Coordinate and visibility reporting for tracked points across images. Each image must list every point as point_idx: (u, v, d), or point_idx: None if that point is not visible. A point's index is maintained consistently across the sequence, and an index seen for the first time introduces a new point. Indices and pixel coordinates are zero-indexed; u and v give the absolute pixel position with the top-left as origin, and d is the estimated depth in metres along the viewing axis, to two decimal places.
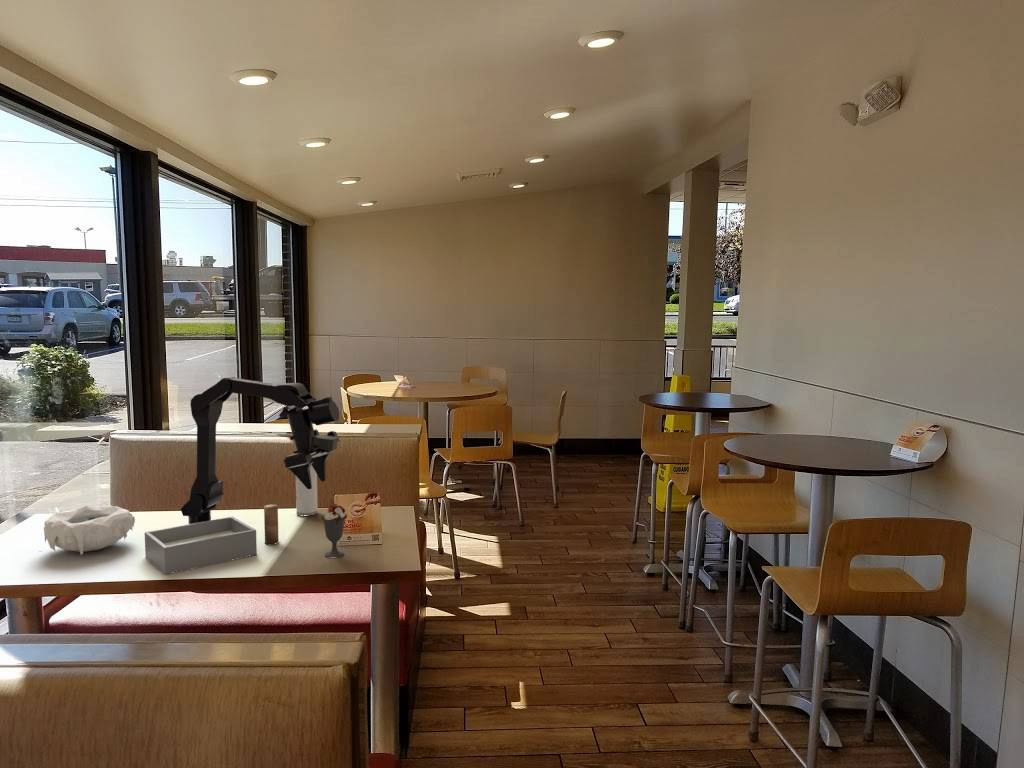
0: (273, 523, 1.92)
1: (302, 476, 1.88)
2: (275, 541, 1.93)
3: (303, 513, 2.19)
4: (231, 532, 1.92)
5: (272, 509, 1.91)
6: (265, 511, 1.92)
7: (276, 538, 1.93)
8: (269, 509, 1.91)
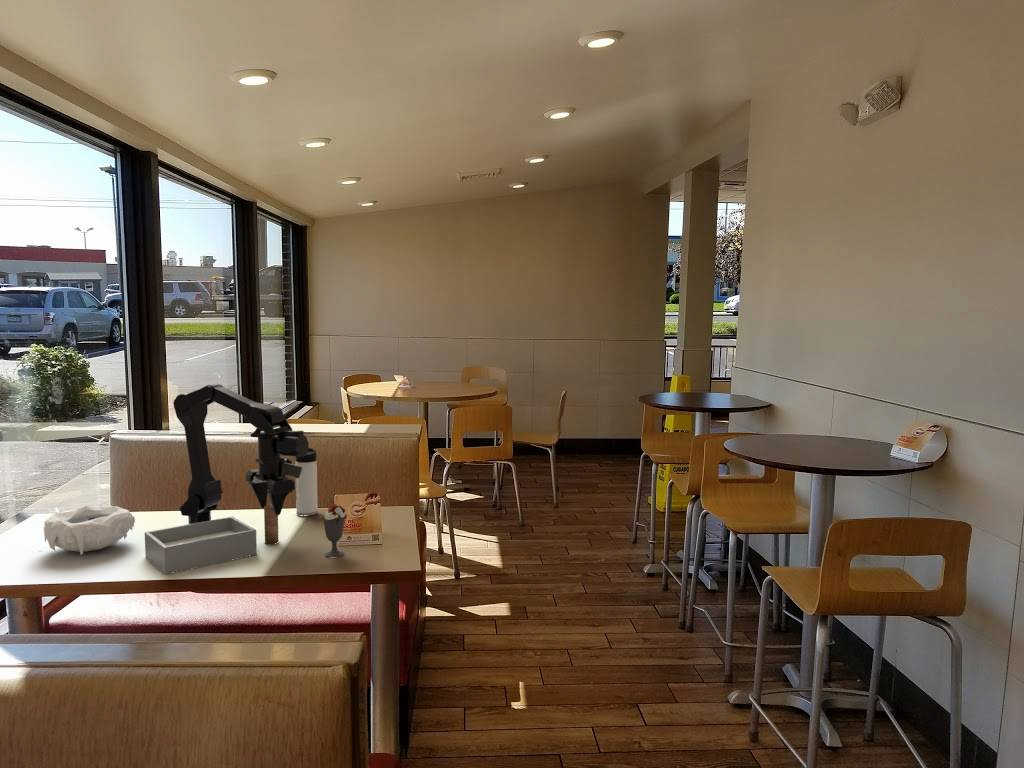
0: (273, 523, 1.92)
1: (277, 502, 1.88)
2: (275, 541, 1.93)
3: (303, 513, 2.19)
4: (231, 532, 1.92)
5: (272, 509, 1.91)
6: (265, 511, 1.92)
7: (276, 538, 1.93)
8: (269, 509, 1.91)
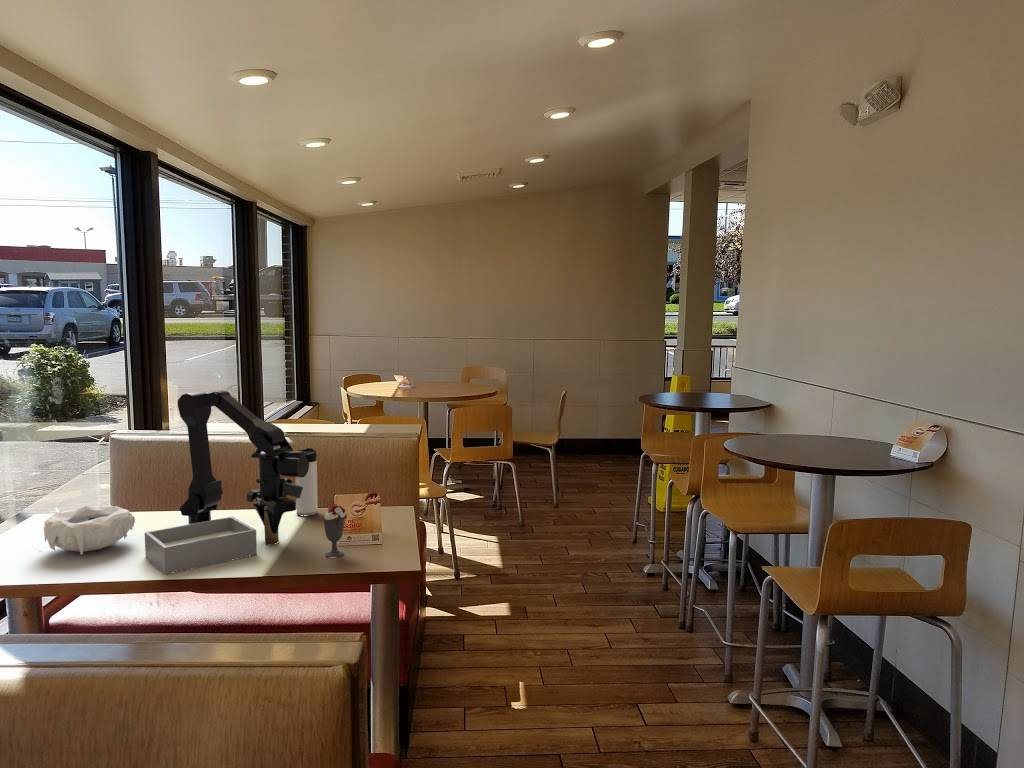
0: None
1: (274, 520, 1.90)
2: (275, 541, 1.93)
3: (303, 513, 2.19)
4: (231, 532, 1.92)
5: None
6: None
7: (276, 538, 1.93)
8: None
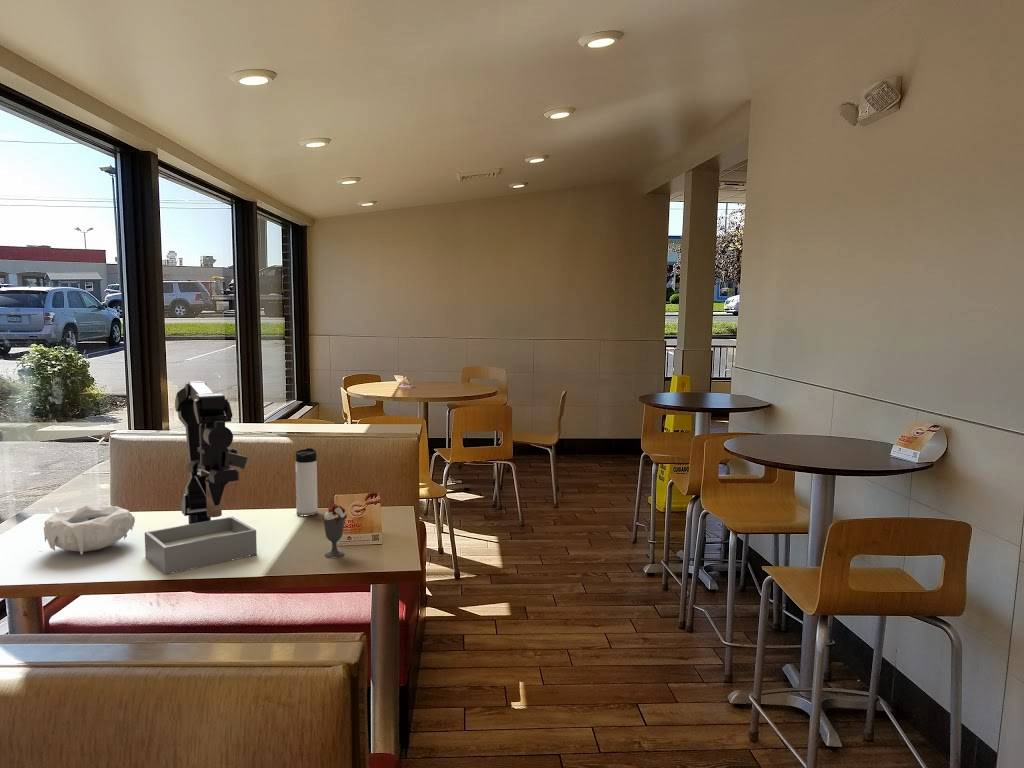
0: None
1: (216, 491, 1.80)
2: (218, 514, 1.83)
3: (303, 513, 2.19)
4: (231, 532, 1.92)
5: None
6: None
7: (219, 510, 1.83)
8: None
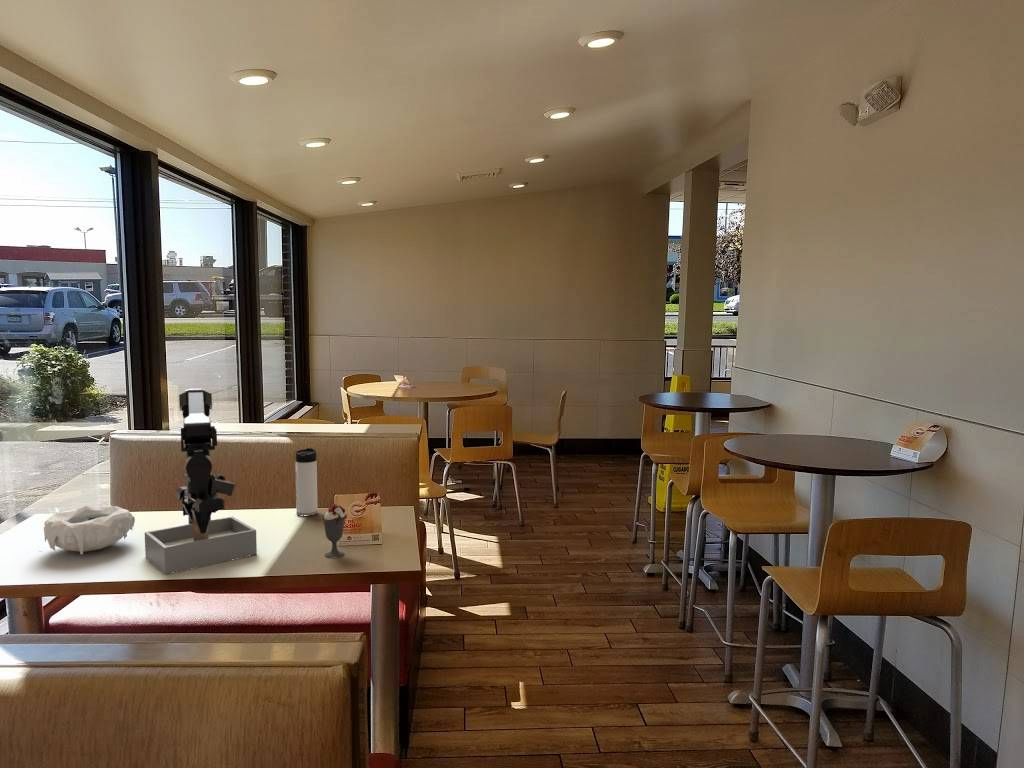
0: None
1: (202, 519, 1.79)
2: None
3: (303, 513, 2.19)
4: (231, 532, 1.92)
5: None
6: None
7: (205, 538, 1.81)
8: None
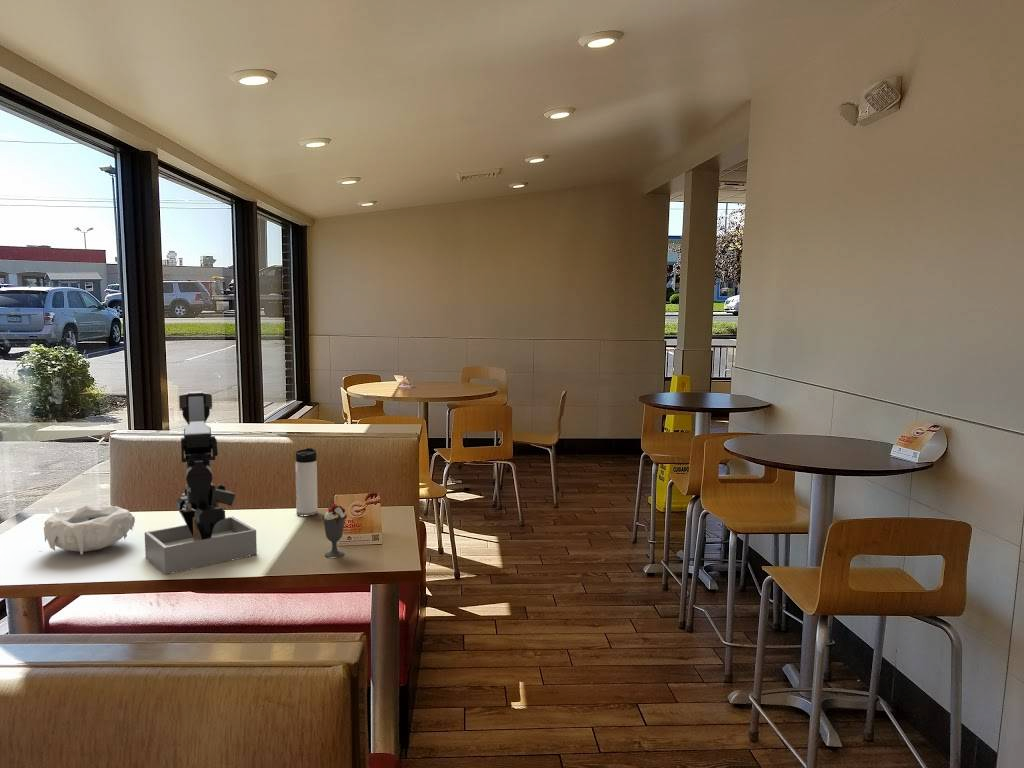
0: None
1: (205, 531, 1.78)
2: None
3: (303, 513, 2.19)
4: (231, 532, 1.92)
5: None
6: (194, 523, 1.80)
7: None
8: None
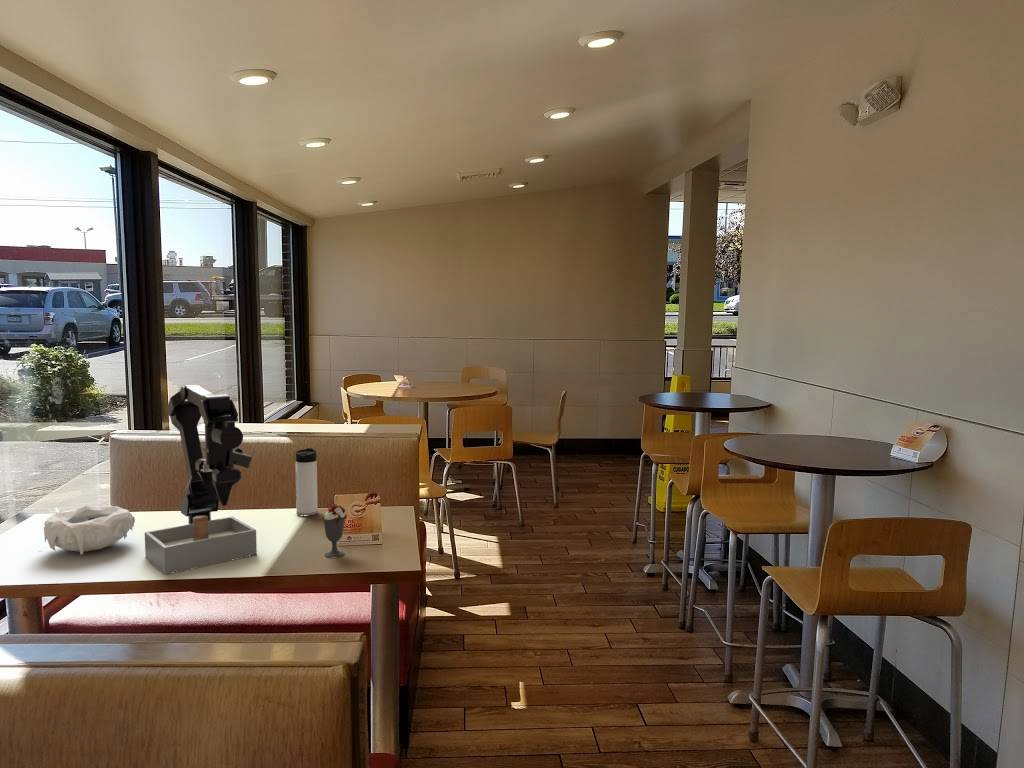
0: (202, 535, 1.81)
1: (223, 492, 1.83)
2: None
3: (303, 513, 2.19)
4: (231, 532, 1.92)
5: (201, 521, 1.80)
6: (194, 523, 1.80)
7: None
8: (198, 521, 1.80)
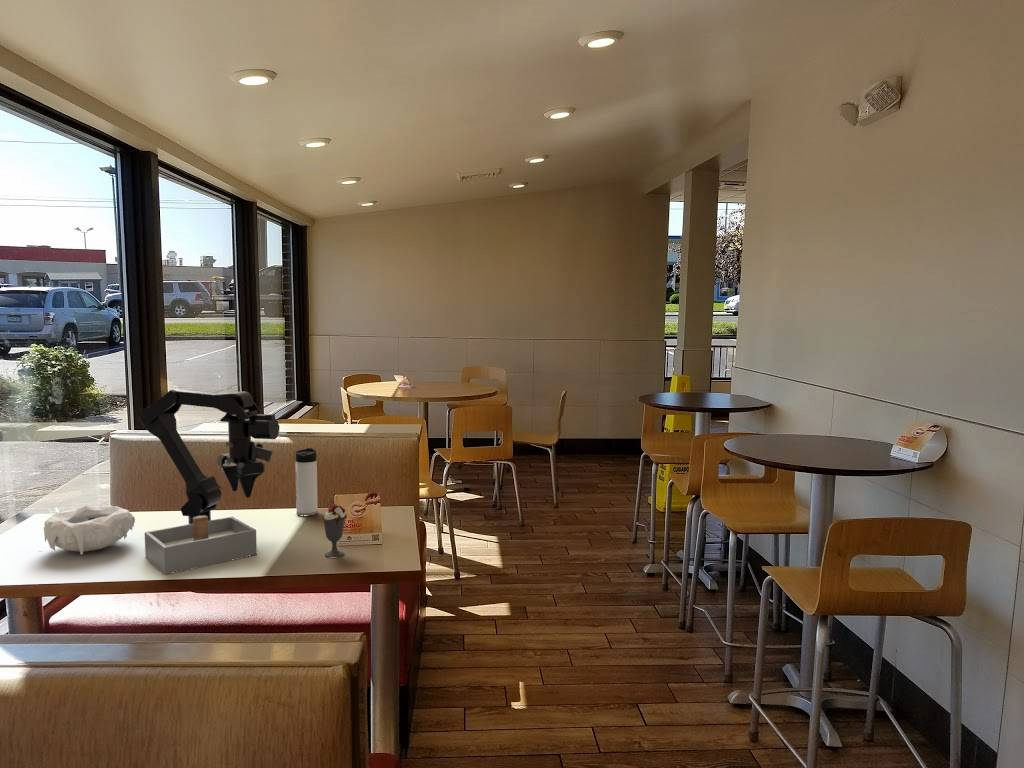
0: (202, 535, 1.81)
1: (247, 484, 1.92)
2: None
3: (303, 513, 2.19)
4: (231, 532, 1.92)
5: (201, 521, 1.80)
6: (194, 523, 1.80)
7: None
8: (198, 521, 1.80)
